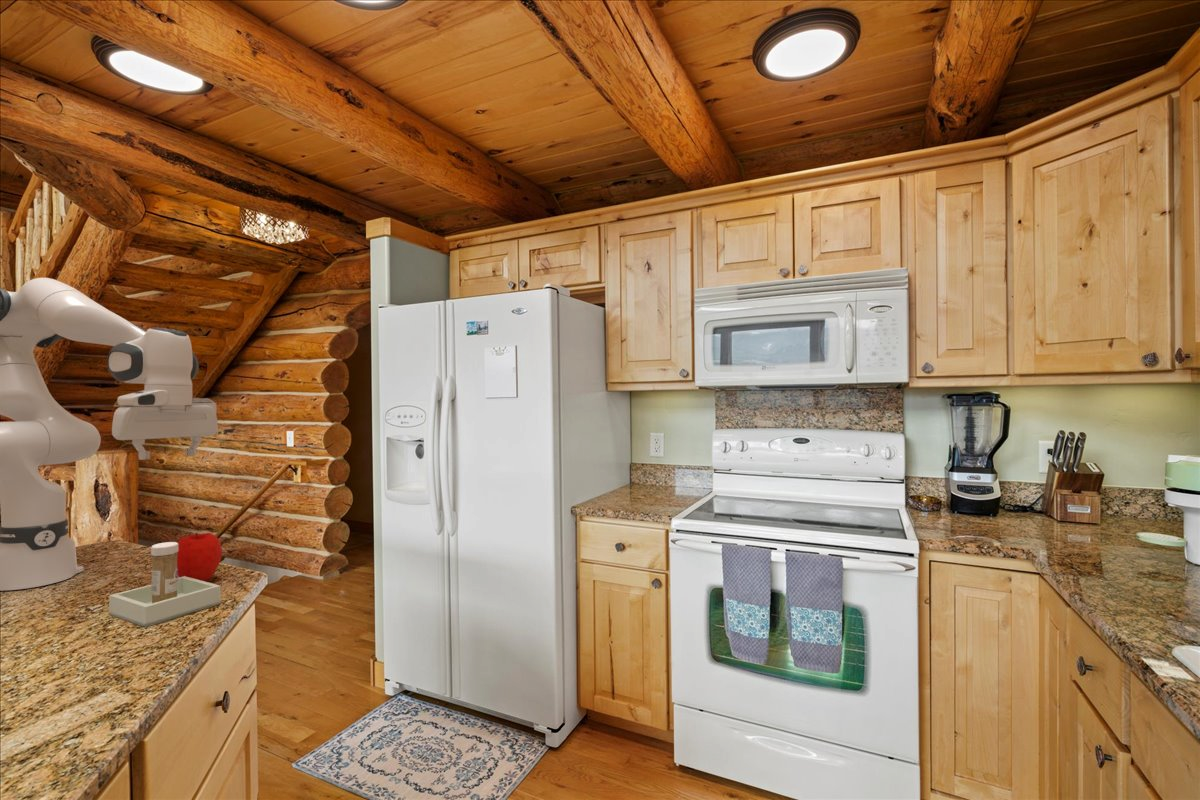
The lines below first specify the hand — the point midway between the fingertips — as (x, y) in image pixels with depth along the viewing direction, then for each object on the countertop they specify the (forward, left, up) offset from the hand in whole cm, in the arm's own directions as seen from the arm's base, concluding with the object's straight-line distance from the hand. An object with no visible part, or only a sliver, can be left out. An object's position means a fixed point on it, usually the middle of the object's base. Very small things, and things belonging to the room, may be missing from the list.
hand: (168, 457), depth 129 cm
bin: (+12, -6, -31) cm, 34 cm away
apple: (-1, +7, -31) cm, 32 cm away
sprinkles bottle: (+12, -6, -31) cm, 34 cm away
